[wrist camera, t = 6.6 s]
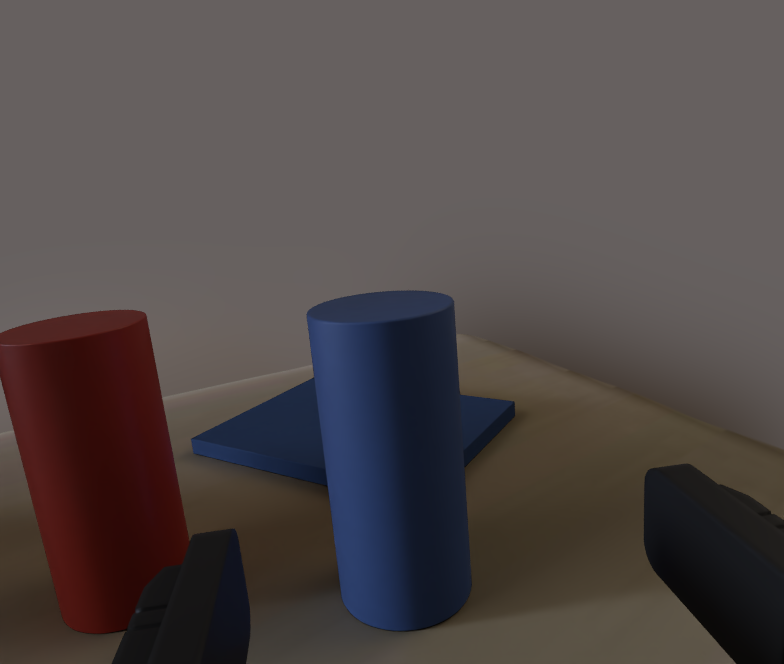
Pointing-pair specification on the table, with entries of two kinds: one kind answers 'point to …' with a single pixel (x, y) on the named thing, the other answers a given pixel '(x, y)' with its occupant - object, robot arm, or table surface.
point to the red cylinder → (95, 459)
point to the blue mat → (303, 433)
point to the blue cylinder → (393, 454)
